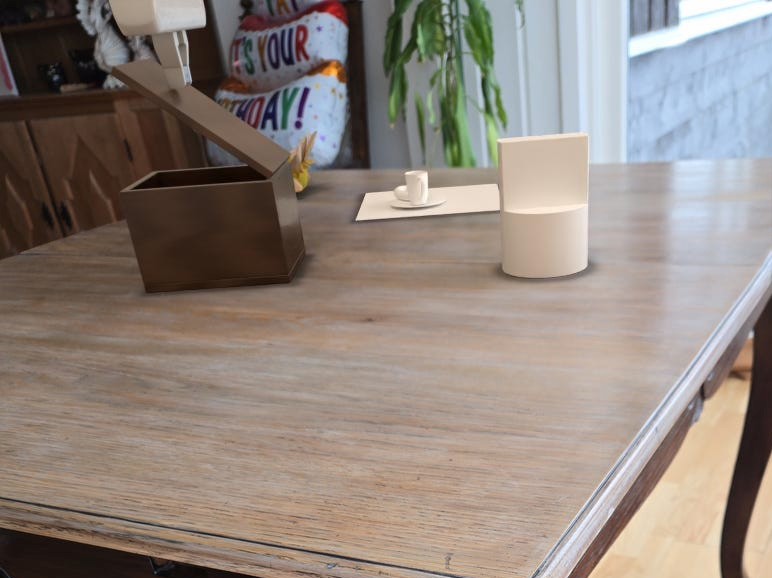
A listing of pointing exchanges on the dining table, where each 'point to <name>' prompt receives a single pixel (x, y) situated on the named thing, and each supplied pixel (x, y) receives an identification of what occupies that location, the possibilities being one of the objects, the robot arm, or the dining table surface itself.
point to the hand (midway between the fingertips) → (180, 87)
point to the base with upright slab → (544, 204)
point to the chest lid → (204, 116)
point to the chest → (214, 227)
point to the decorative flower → (302, 161)
